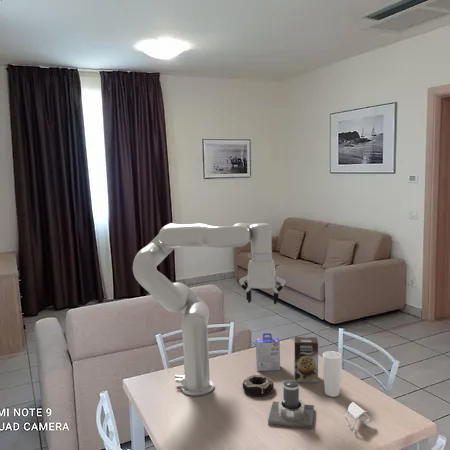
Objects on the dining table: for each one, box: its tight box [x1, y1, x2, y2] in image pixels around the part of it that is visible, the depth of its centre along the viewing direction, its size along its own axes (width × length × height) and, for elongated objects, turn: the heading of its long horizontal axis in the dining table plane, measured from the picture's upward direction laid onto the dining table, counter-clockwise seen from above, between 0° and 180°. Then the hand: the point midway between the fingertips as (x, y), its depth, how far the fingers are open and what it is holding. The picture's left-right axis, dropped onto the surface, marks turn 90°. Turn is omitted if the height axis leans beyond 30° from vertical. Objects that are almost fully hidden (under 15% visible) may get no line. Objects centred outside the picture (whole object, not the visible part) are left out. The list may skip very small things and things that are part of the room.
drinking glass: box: [321, 350, 343, 398], centre depth 157 cm, size 7×7×15 cm
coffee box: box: [293, 336, 319, 384], centre depth 169 cm, size 9×6×16 cm
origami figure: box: [343, 401, 373, 434], centre depth 139 cm, size 12×8×5 cm
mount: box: [267, 398, 315, 430], centre depth 143 cm, size 14×12×4 cm
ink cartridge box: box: [255, 332, 281, 372], centre depth 179 cm, size 10×6×14 cm, turn 89°
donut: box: [242, 374, 275, 397], centre depth 162 cm, size 12×12×4 cm
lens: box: [282, 379, 300, 409], centre depth 143 cm, size 5×5×10 cm
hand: (262, 302), depth 160 cm, fingers open, 9 cm apart
